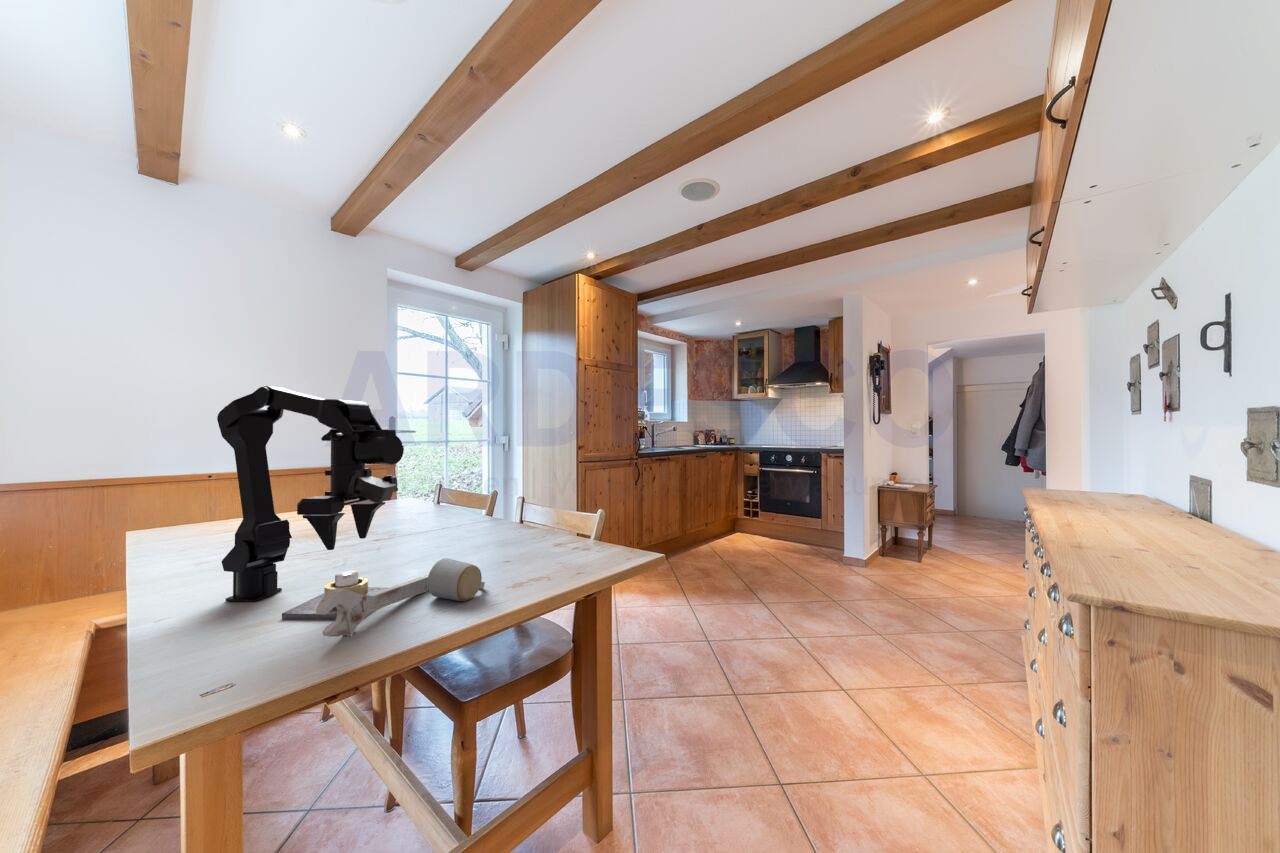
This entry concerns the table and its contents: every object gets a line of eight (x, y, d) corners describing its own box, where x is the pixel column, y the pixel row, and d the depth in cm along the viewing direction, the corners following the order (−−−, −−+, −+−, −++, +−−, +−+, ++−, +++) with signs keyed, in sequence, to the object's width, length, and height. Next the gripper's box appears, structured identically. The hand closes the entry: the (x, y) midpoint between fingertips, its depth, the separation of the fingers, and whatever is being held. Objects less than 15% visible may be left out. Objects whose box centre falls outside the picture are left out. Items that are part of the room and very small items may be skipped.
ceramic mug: (458, 607, 86) (459, 567, 86) (425, 602, 88) (426, 563, 89) (494, 590, 96) (495, 554, 96) (463, 586, 98) (464, 550, 99)
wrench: (435, 600, 97) (322, 650, 68) (427, 600, 98) (311, 649, 68) (437, 562, 98) (327, 595, 69) (430, 562, 99) (316, 594, 69)
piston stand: (281, 619, 80) (282, 585, 80) (336, 591, 94) (336, 563, 94) (358, 619, 80) (358, 586, 80) (401, 592, 94) (402, 563, 94)
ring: (315, 601, 84) (315, 589, 84) (341, 589, 91) (341, 577, 91) (352, 602, 83) (352, 589, 84) (375, 589, 90) (375, 577, 91)
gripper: (357, 467, 78) (356, 557, 78) (413, 461, 97) (413, 533, 96) (294, 467, 78) (293, 556, 78) (363, 461, 97) (362, 533, 97)
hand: (347, 543), depth 87 cm, fingers open, 9 cm apart
